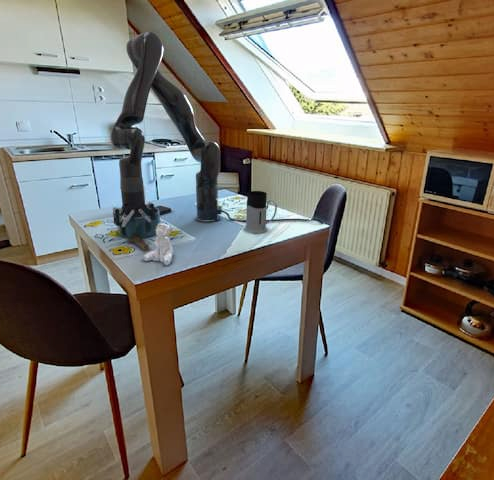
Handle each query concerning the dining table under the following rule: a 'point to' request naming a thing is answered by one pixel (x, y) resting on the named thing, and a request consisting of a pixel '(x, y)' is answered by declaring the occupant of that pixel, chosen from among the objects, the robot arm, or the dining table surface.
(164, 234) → the seated beast figurine
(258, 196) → the travel mug
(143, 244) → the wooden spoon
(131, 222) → the cooking pot
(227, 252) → the dining table surface
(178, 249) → the dining table surface
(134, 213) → the robot arm
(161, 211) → the smart home device
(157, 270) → the dining table surface
